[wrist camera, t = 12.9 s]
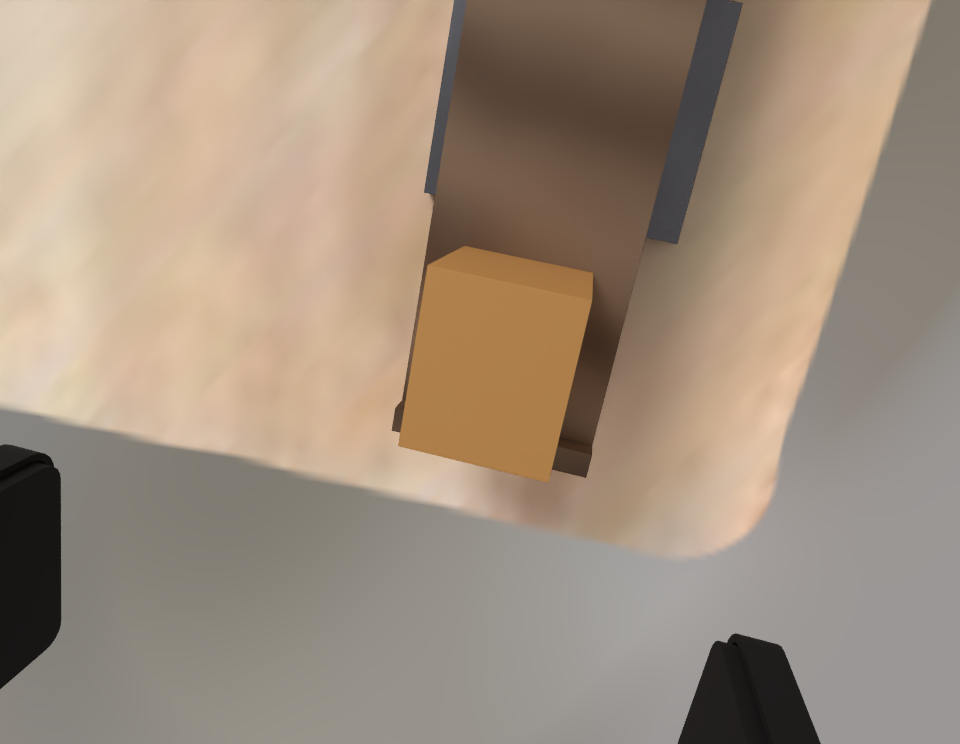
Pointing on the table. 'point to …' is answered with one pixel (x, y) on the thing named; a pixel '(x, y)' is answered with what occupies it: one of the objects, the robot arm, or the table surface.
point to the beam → (563, 157)
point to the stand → (688, 124)
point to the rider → (495, 360)
